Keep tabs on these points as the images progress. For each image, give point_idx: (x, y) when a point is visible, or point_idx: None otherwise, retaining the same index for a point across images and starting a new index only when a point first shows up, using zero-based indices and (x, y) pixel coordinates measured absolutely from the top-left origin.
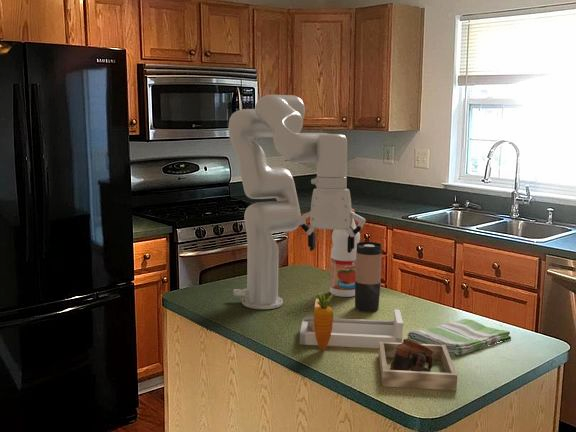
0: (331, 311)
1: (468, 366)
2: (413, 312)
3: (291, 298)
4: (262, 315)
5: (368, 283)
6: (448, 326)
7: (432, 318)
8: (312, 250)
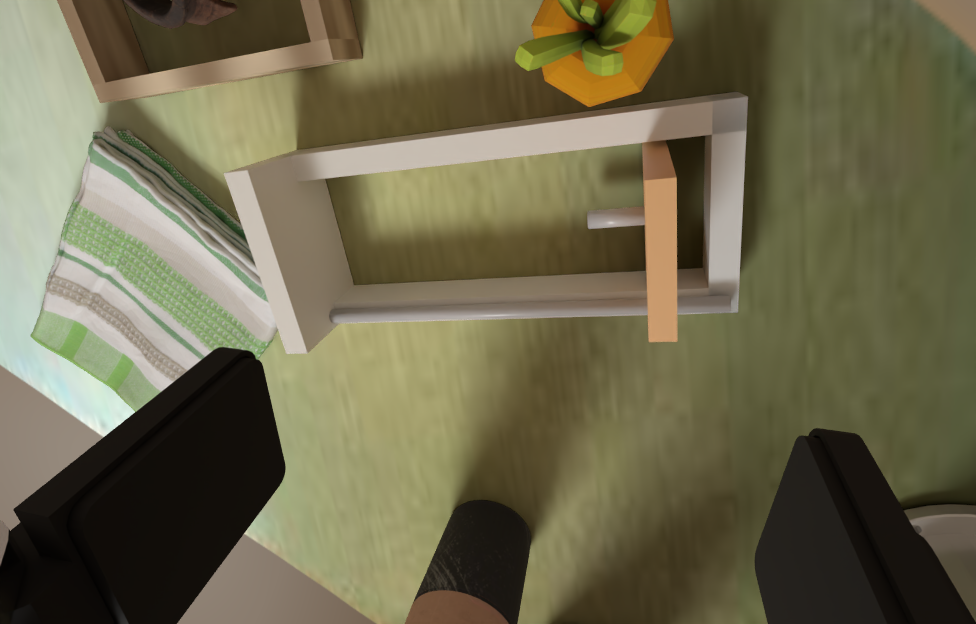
0: (539, 12)
1: (60, 42)
2: (340, 504)
3: None
4: (947, 440)
5: (449, 594)
6: None
7: None
8: (802, 452)
